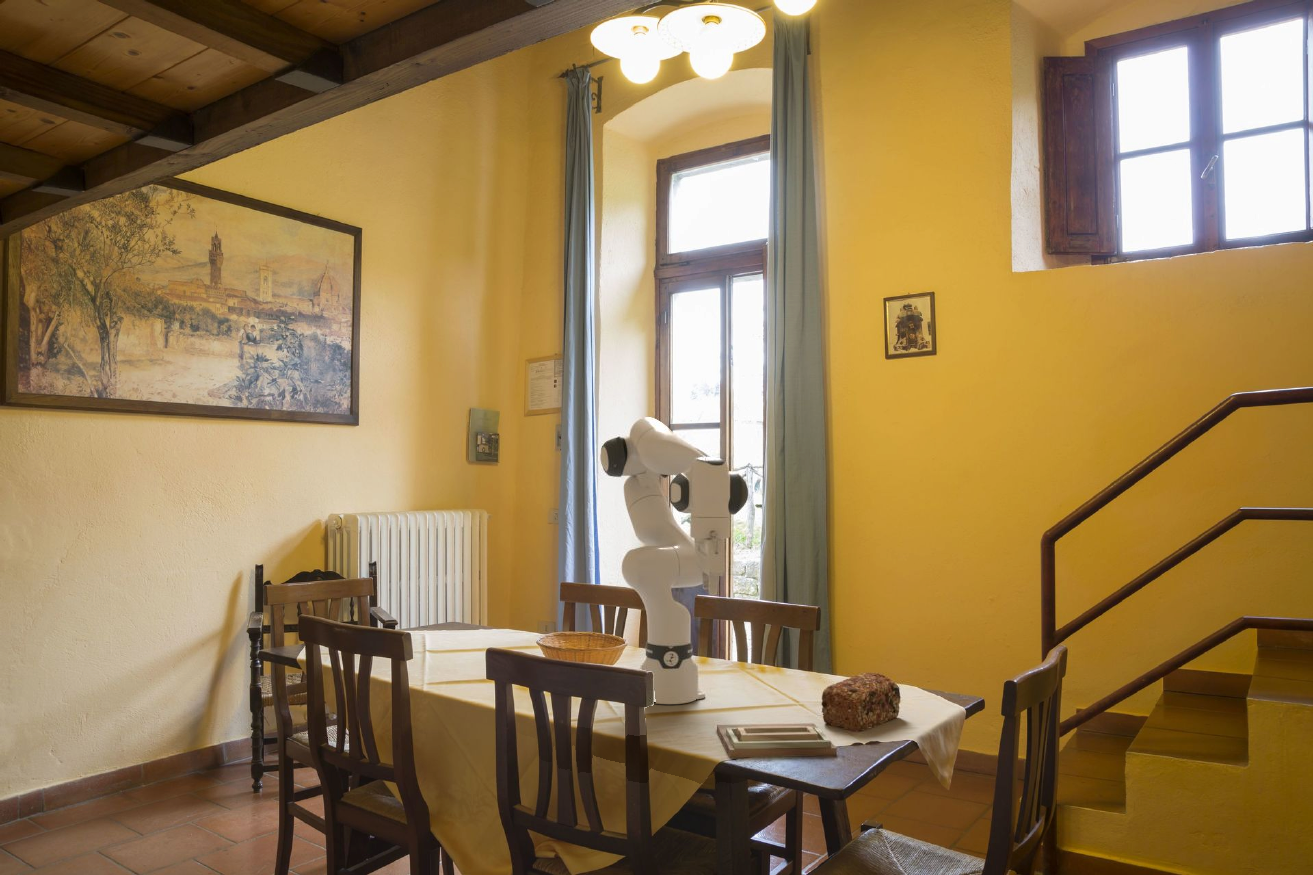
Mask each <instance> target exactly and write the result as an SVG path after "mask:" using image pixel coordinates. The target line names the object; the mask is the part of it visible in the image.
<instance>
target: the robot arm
mask: <svg viewBox="0 0 1313 875" xmlns="http://www.w3.org/2000/svg"><path fill="white" fill-rule="evenodd" d="M599 460H600V463H601V466H602V470H603V471H604V472H605V474H606V475H607V476H609V477H613V478H614V477H616V478H622V477H628V478H626V480H625V482H624V485H623V496H624V502H625V503H624V504H625V507H626V510H627V513H628V516H629V519H630V522H631V526H632V528H633V530H634V534H635V536H636V537H637V539H638V540H639V541H640V542H641V543H642V544H643V545H644V546H640V547H636V548H632V549H630V550H628V551H627V552H626V553H625V555H624V556H623V559H622V562H621V574H622V576H623V579H624V581H625V582H626V584H627V585H628V586H629V587H630V588H632V589H633V590H635V592H637V594H638V595H639V597H640V599H641V600H642V603H643V605H644V610H645V611H646V612H645V613H646V621H647V622H646V624H647V641H646V642H645V647H644V648H645V656H646V658H645V660H644V661H643V662H642V663H641V665H640V667H639V668H638V669H642V670H646V671H652V673H654V691H655V699H656V703H655V704H659V705H681V704H686V703H687V704H688V703H691V702H694V701H696V699H697V700H700V699H701V700H702V699H704V697H705V698H706V693H705V692H704V691H703V690H701V689H699V666H698V664H697V663H696V662H695V661H694V660H693V658H692V657H693V643H692V641H691V623H692V622H691V621H692V620H691V618H692V617H691V613H690V611H689V610H688V608H687V607H686V606H685V605H683V604H682V603H680V602H678V601H676V600H675V599H674V597H673V592H672V589H677V588H678V589H679V588H694V587H697V586H701V585H702V588H703V590H704V591H708V595H709V596H711V597H712V596H714V597H715V596H717V595H718V591H719V589H718V587H719V582H720V577H723V576H724V575H725V571H726V570H725V569H726V568H725V566H726V564H725V539H730V537H731V515H736V514H737V513H739V511H741V510H742V508H744V507H745V505H746V503H747V502H748V498H749V489H748V484H747V482H746V481H745V479H744V478H743V477H742V476H741V475H740V474H739V473H738V472H737V471H730V470H729V467H728V464H727V462H726V461H725V460H724V459H722V458H719V457H712V456H709V454H707V453H705V452H704V451H702V450H700V449H699V448H697V447H695V446H693V445H691V444H690V443H688V442H686V441H684V440H683V439H682V438H680V437H678V436H677V434H675V433H674V432H673V431H672V430H671V429H670V428H669V427H668V426H667V425H666V424H664V423H663V422H662V421H660V420H657V419H656V418H654V417H642V418H640V419H638V420H637V421H635V422H634V424H633V425H632V426H631V428H630V431H629V435H627V436H622V437H621V436H617V437H613V438H611V439H609V440H607V441H605V442H604V443H603V444H602V446H601V449H600V457H599ZM661 476H662V478H664V479H666V478H668V477H669V476H675V477H673V478H672V480H671V481H670V484H669V493H668V494H669V501H670V504H671V505H672V507H673V508H674V510H676V511H678V512H679V513H682V514H690V519H689V520H690V524H689V525H690V526H689V527H690V530H689V531H690V533H689V534H690V535H688V534H687V533H686V532H685V531H684V530H683V529H682V528H681V527H680V525H679V524H678V523H677V520H676V519H675V517H674V515H673V513H672V510H671V508H670V505H669V503H668V500H667V497H666V496H665V494H664V491H663V489H662V487H661V480H660V478H661Z"/></svg>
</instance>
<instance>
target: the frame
mask: <svg viewBox="0 0 1313 875" xmlns="http://www.w3.org/2000/svg"><path fill="white" fill-rule="evenodd" d="M737 737H738V739H739V741H740V742H743V741H802V740H818V733H817V732H816V731H815V730H814V729H813V728H812V727H811V726H764V727H737Z"/></svg>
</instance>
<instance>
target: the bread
mask: <svg viewBox="0 0 1313 875" xmlns="http://www.w3.org/2000/svg"><path fill="white" fill-rule="evenodd" d="M900 692H901V691H900V687H899V686H898V684H897V683H896V682H894V681H893V680H891V678H888V677H886V676H885V675H883V674H880V673H875V672H864V673H861V674H857V675H855V676H851V677H849V678H846V679H844V680H841V681H837V682H836V683H833V684H831V685H828V686H826V688H824V690H823V692H822V694H821V706H822V708H821V713H822V718H823V722H824V723H825V724H827V725H830V726H832V727H834V726H835V727H841V728H844V729H846V730H847V729H849V730H848V731H853V732H857V733H861V732H862V731H864V729H866V730H868V728H869V727H872V728H874V727H876V726H878V725H882V724H885V722H886V721H887V722H889V720H890V721H891V719H892V720H894V719H895V718H898V716H899V712H900V704H901V693H900ZM875 725H876V726H875ZM835 727H834V728H835ZM869 729H870V728H869Z"/></svg>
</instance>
